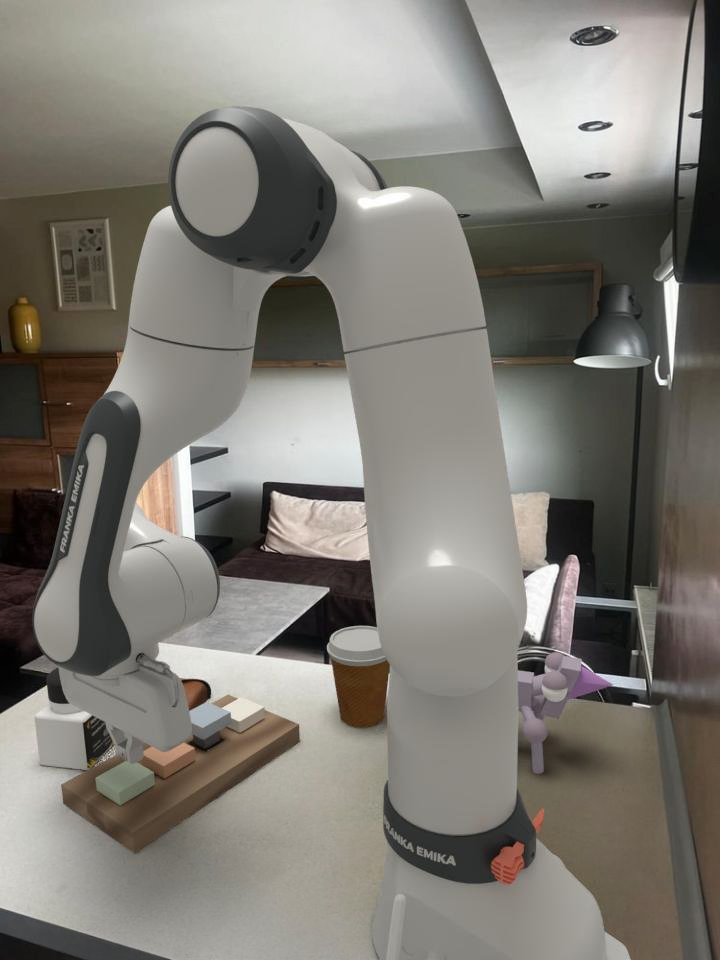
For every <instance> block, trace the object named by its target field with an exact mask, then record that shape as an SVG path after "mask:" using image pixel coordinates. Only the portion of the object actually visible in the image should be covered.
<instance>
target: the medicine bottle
mask: <svg viewBox="0 0 720 960" xmlns="http://www.w3.org/2000/svg"><path fill="white" fill-rule="evenodd" d="M45 681H46V688H47V689H46V690H47V698H48V704H47V705H46V706H45V707H43V708H42V709H40V711H39V712H37V713H36V714H35V715H34V724H35V725H34V726H35V732H36V742H37V749H38V750H37V751H38V757H39V764H40V766H44V767H45V766H46V767H56V768H64V769H71V768H72V769H74V770H80V769H81V770H82V771H87V770H89V769H91V768H93V767H94V766H95V764H96V763H97V762H98V761H99V760H100V759H102V757H103V756H104V755H106V753H107V752H108V751H109V750H110V749H111V748H112V747H113V746H115V744H114V742H113V740H112V738H111V736H110V734H109V732H108V730H107V728H106V722H104V721H102V720H100V719H99V718H97V717H95V716H93V715H91V714H89V713H87V712H85V711H83V710H81V709H79V708H78V707H76V706H74V705H72V704H70V703H69V702H68V700H67V699H66V697H65V695H64V693H63V689H62V685H61V680H60V674H59V668H58V667H56V668H54V669H53V670H51V671H50V672H49V674H48V675H47V676H46V679H45Z"/></svg>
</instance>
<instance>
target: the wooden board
mask: <svg viewBox="0 0 720 960" xmlns="http://www.w3.org/2000/svg"><path fill="white" fill-rule="evenodd" d="M237 699H239V698H237V697H236V696H233V695H230V694H226V695H224V696H223V697H221V698H218V699H217V700H215V701H214V702H212V703H211V704H213V705H215V706H218V707H220V708H222V707H224V706H226V705H228V704H230V703H232V702H233V701H235V700H237ZM219 732H220V740H219V741H218V742H216V743H214V744H213V745H211V746H209V747H208V748H206V749H205V748H203V747H201V746H199V745H197V744H195V743H193V734H191V735H190V737H189V738H188V740H187V741H185V742H184V743H186V744H188V745H190V746H192V747H194V748H195V758H196V760H194V761H193V762H191V763H190V764H188V765H186V766H185V767H183V768H181V769H180V770H178V771H176V772H175V773H173V774H171V775H170V776H168V777H166V778H163V777H161V776H159V775H158V774H156V773H154V781H155V785H153V786H152V787H150V788H148V789H147V790H145V791H143V792H142V793H140V794H138V795H137V796H135V797H133V798H132V799H130V800H129V801H127V802H125V803H124V804H122V805H119V804H117V803H116V802H114V801H113V800H111V799H109V798H108V797H106V796H105V795H103V794H102V793H100V792H99V791H97V788H96V779H95V778H96V777H98V776H100V775H101V774H103V773H105V772H107V771H109V770H110V769H112V768H114V767H116V766H118V765H119V764H121V763H123V762H125V761H126V760H124V759H122V758H120V757H118V756H117V755H116V754H115V755H113V756H111V757H109V758H108V759H106V760H104V761H102V762H100V763H99V764H96V765H93V766H92V767H91V768H90V769H89V770H84V772H81V773H80V774H78V775H76V776H74V777H72V778H70V779H68V780H67V781H65V782H63V783H61V784H60V787H61V788H60V789H61V795H62V804H64V805H65V806H66V807H68V808H69V809H71V810H72V811H73V812H75V813H76V814H77V815H79V816H80V817H82V818H83V819H84V820H86V821H88V822H89V823H90V824H92V825H93V826H95V827H96V828H97V829H99V830H100V831H102V832H103V833H105V834H106V835H107V836H109V837H111V838H112V839H113V840H114V841H116V842H117V843H118V844H121V846H123V847H124V848H126V849H127V850H129V851H130V852H131V853H133V854H136V853H137V852H139V851H141V850H142V849H144V848H145V847H147V846H148V845H149V844H151V843H152V842H154V841H156V840H157V839H158V838H160V837H161V836H163V835H164V834H166V833H167V832H168V831H170V830H172V829H173V828H174V827H176V826H177V825H179V824H180V823H182V822H184V821H185V820H186V819H188V818H190V816H192V815H193V814H195V813H196V812H198V811H199V810H201V809H203V808H204V807H205V806H207V805H208V804H210V803H211V802H212V801H214V800H216V799H217V798H218V797H220V796H221V795H223V794H224V793H226V792H227V791H229V790H231V789H232V788H234V787H235V786H236V785H237V784H239V783H240V782H242V781H244V780H245V779H246V778H247V777H249V776H251V775H253V774H254V773H255V772H257V771H258V770H259V769H261V768H263V767H264V766H265V765H267V764H269V763H270V762H272V761H273V760H275V758H277V757H279V756H280V755H281V754H283V753H285V752H286V751H288V750H289V749H291V748H292V747H294V746H295V745H296V744H298V743H299V742H301V738H300V735H301V734H300V724H299V723H297V722H295V721H293V720H290V719H288V718H286V717H284V716H283V717H282V716H280V715H278V714H276V713H273V712H271V711H268V710H266V709H265V718H264V719H262V720H260V721H259V722H257V723H256V724H254V725H252V726H251V727H249V728H247V729H246V730H244V731H242V732H241V733H239V732H237V731H235V730H233V729H231V728H229V727H225V728H223V729H221V730H219ZM150 747H152V746H150V745H148V744H146V743H143V751H145V750H147V749H148V748H150ZM137 763H139V764H140V765H141V760H140V761H138V762H137Z"/></svg>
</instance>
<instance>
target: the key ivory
mask: <svg viewBox="0 0 720 960" xmlns="http://www.w3.org/2000/svg"><path fill="white" fill-rule="evenodd" d="M265 708H266V707H265V706H264V705H260V704H259V703H256V702H254V701H252V700H249V699H246V698H245V697H239V698H238V699H237V700H235V701H233V702H232V703H230V704H228V705H226V706H224V707H222V709H224V710H227V711H229V712H231V724H230V725H228V726H226V727H229V728H231V729H233V730H235V731H237V732H239V733H241V732H242V731H244V730H246V729H247V728H249V727H251V726H252V725H254V724H256V723H257V722H259V721H260V720H262V719H264V718H265V710H266V709H265Z"/></svg>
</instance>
